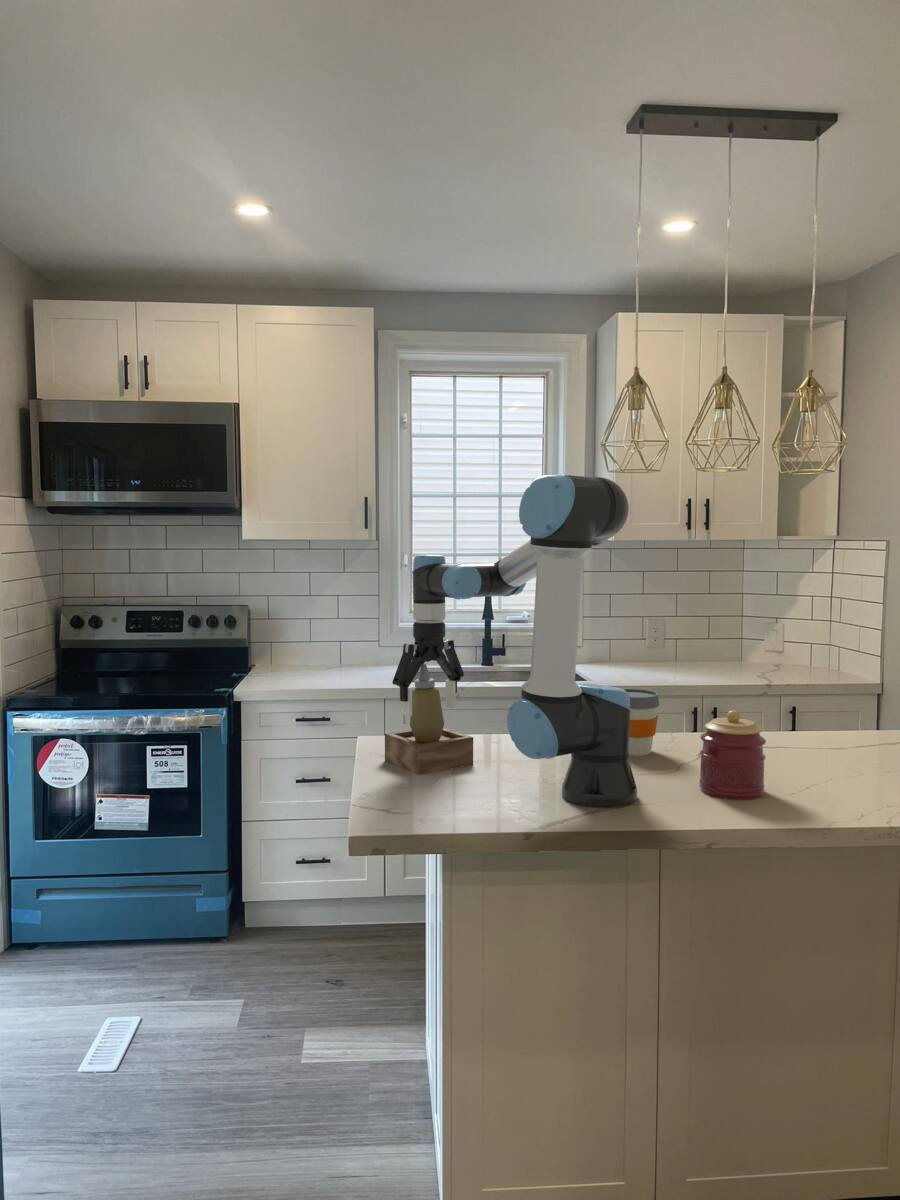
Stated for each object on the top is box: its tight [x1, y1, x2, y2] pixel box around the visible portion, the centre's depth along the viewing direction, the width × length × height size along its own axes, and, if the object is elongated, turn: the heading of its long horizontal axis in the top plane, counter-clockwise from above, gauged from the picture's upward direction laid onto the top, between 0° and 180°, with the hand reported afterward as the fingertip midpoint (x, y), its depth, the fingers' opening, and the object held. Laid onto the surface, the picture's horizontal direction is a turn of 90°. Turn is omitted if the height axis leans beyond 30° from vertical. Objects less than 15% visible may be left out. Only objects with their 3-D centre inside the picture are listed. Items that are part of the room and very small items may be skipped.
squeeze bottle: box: [409, 663, 445, 742], centre depth 204 cm, size 8×8×18 cm
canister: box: [698, 709, 767, 801], centre depth 181 cm, size 13×13×18 cm
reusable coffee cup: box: [623, 688, 660, 757], centre depth 216 cm, size 13×13×15 cm
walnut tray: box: [384, 727, 474, 776], centre depth 205 cm, size 15×15×7 cm
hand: (429, 711), depth 204 cm, fingers open, 13 cm apart
